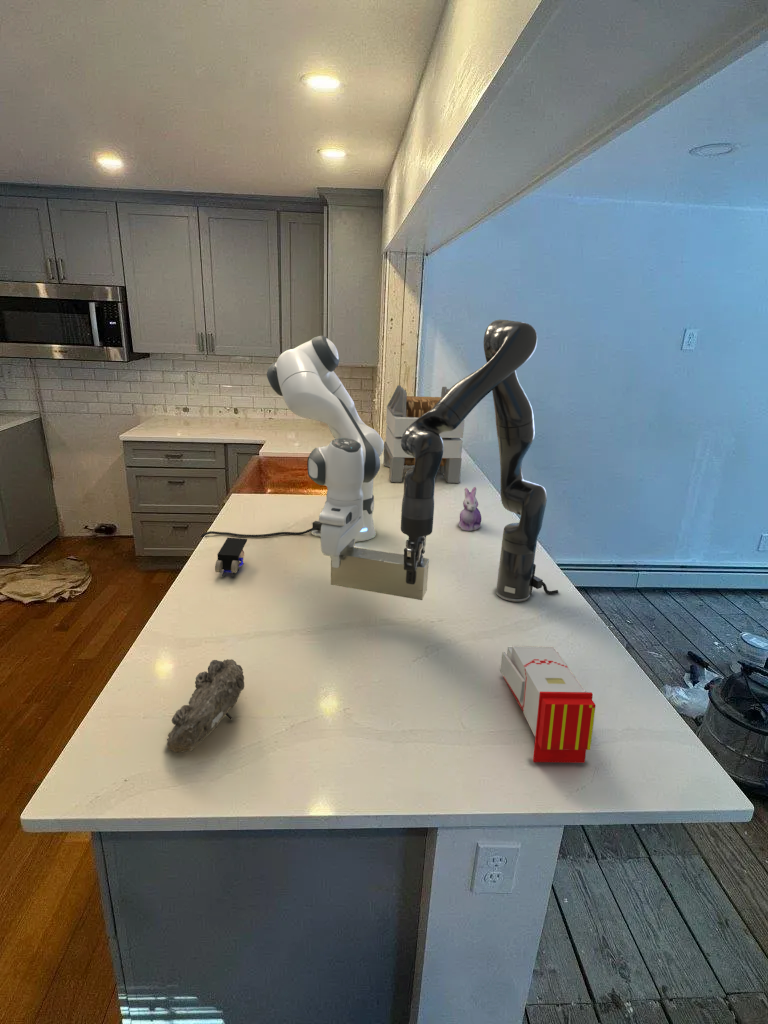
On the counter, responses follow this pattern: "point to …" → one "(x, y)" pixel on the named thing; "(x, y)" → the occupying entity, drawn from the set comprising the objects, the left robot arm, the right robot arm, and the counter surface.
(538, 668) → the toy
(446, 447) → the grey storage crate
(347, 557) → the bar
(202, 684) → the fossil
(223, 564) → the toy car
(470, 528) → the figurine
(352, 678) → the counter surface
